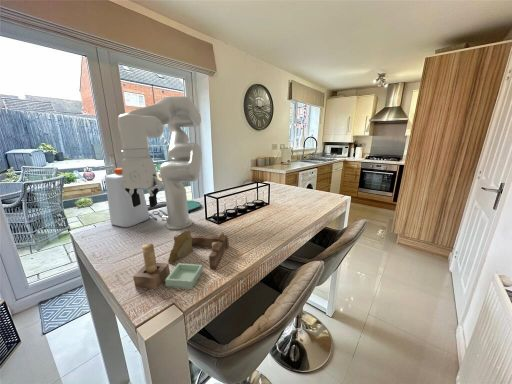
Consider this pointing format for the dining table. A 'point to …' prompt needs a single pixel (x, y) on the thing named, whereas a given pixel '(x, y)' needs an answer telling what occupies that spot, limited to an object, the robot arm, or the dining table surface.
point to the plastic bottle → (124, 202)
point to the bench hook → (212, 246)
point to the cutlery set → (191, 206)
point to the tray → (184, 276)
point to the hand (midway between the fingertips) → (145, 205)
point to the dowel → (149, 258)
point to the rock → (181, 247)
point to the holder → (151, 277)
